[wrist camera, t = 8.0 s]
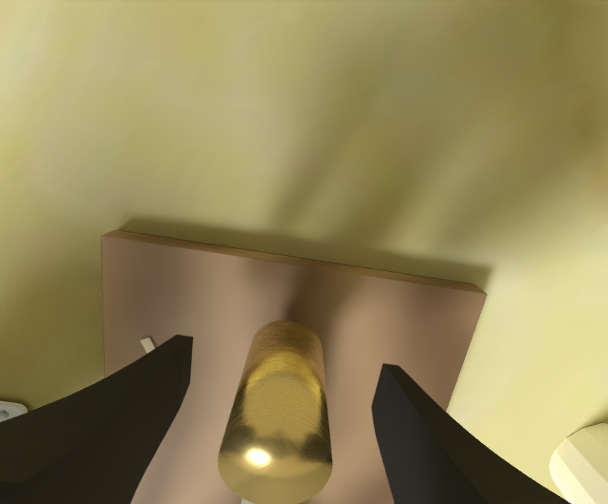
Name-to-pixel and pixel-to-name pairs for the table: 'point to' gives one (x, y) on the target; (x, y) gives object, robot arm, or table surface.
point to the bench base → (254, 315)
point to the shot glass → (583, 466)
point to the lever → (279, 419)
